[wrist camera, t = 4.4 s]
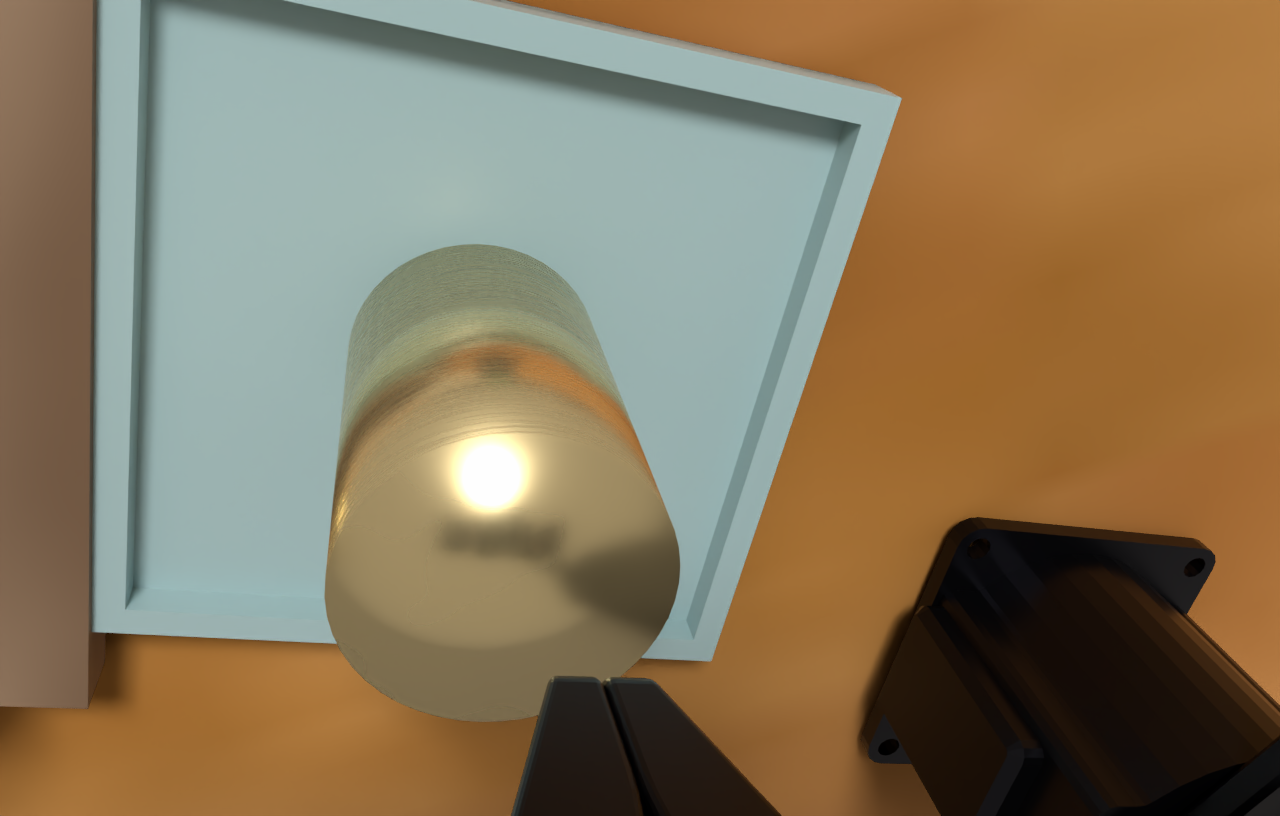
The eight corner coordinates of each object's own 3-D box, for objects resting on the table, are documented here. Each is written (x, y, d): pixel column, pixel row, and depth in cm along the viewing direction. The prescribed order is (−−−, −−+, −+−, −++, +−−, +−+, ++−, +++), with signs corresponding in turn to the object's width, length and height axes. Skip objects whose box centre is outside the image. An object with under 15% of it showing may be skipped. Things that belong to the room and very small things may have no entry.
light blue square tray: (875, 85, 16) (901, 98, 16) (698, 628, 21) (711, 661, 20) (117, -89, 13) (97, -84, 12) (106, 593, 18) (91, 631, 17)
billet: (620, 265, 17) (719, 456, 11) (569, 477, 18) (636, 726, 13) (363, 224, 15) (345, 416, 10) (335, 453, 17) (308, 716, 12)
